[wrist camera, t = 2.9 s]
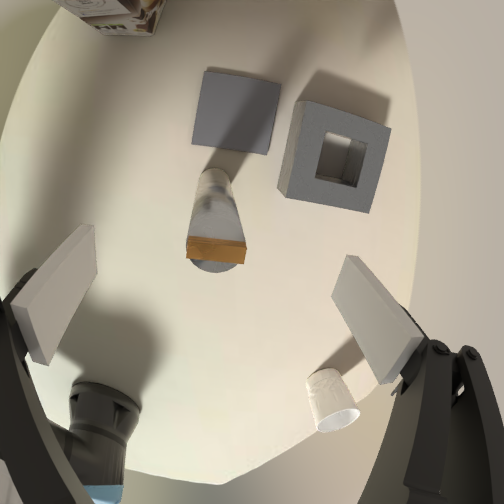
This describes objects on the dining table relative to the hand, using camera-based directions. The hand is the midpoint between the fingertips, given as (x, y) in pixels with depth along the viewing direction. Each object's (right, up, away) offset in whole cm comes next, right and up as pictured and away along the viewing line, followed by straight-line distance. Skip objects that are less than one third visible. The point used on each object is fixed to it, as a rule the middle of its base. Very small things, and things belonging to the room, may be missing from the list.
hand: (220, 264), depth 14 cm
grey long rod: (-3, +8, +16) cm, 18 cm away
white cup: (+15, -23, +35) cm, 45 cm away
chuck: (+10, +12, +16) cm, 22 cm away
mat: (0, +15, +13) cm, 20 cm away
